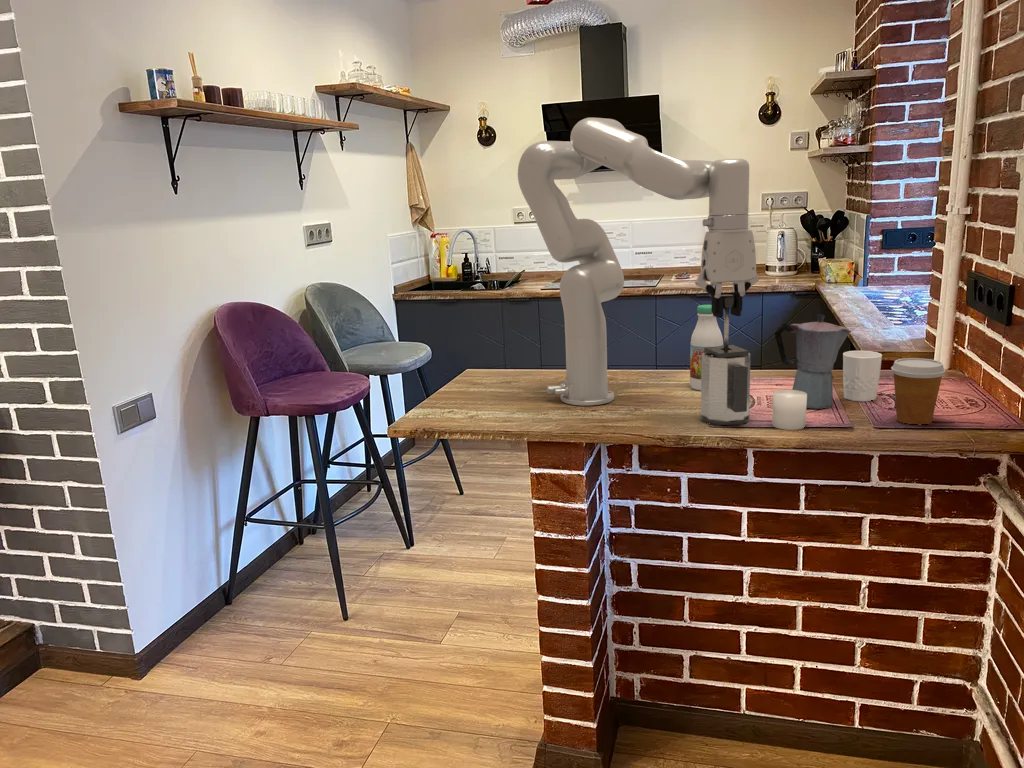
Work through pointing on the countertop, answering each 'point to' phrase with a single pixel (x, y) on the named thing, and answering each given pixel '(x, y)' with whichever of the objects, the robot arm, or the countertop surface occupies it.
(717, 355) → the press carafe
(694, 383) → the milk bottle
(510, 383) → the countertop surface
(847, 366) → the white cup
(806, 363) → the moka pot
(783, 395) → the white pillar candle
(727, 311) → the plunger
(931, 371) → the disposable coffee cup
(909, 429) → the countertop surface
